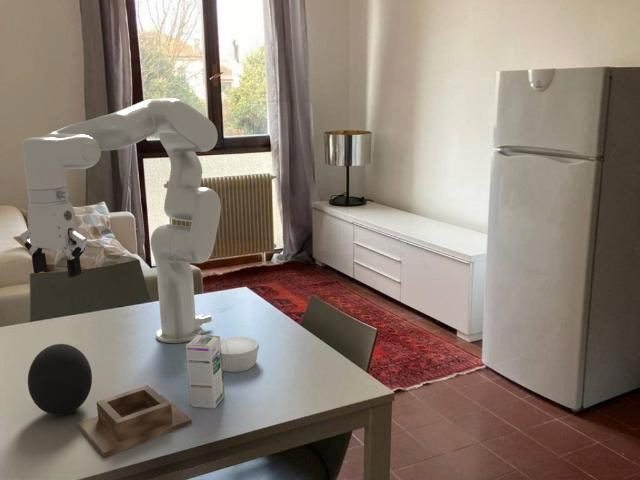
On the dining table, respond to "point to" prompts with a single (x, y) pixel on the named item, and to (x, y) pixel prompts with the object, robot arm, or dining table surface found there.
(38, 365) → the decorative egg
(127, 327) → the dining table surface
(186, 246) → the robot arm
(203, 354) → the syrup box
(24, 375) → the dining table surface
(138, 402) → the walnut holder
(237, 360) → the ramekin
